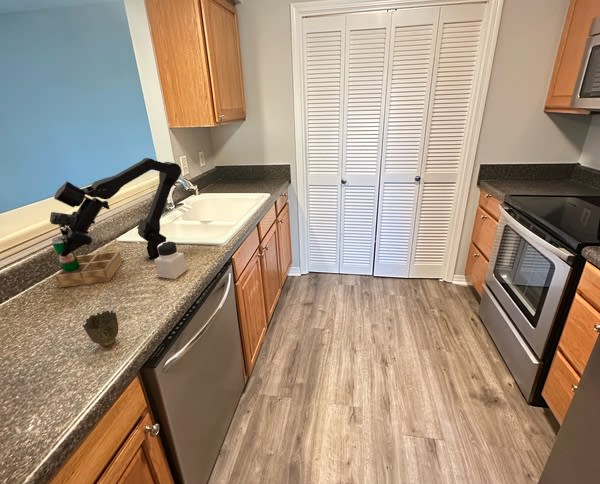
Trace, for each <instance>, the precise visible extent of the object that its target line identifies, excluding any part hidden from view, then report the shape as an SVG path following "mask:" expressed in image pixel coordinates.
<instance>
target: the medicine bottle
mask: <svg viewBox="0 0 600 484" xmlns="http://www.w3.org/2000/svg"><path fill="white" fill-rule="evenodd" d="M176 244H177V243H176V242H175V241H166V242H163V243H161V244H159V245H158V247H157V248H158V252H159V257H158V258H156V259H154V264H155V267H156V272H157V275H158V278H164V279H169V280H176V279H177V278H178V277H179V276H181V275H182V274H184V273H185V272H186V271H188V270H187V269H188V268H187V264H186V260H185V259H186V258H185V255H184V253H183V252H178V249H177V245H176Z"/></svg>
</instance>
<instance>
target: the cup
mask: <svg viewBox="0 0 600 484" xmlns="http://www.w3.org/2000/svg"><path fill="white" fill-rule="evenodd" d="M82 328H83V329H84V331H85V332H86V333H85V334H87V337H89V339H90V341H92V342H93V343H94V344H97V345H99V346H100V347H101V348H109V347H111V346H113V345H114V344H115V343H116V341H117V339H116V338H117V336H118V334H119V321H118V316H117V312H116V311H113V310H111V311H110V310H107V309H106V311H105V310H102V312H101V313H100V312H97V313H96V314H90V315H89V316H88V318H85V323H82Z"/></svg>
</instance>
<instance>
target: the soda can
mask: <svg viewBox="0 0 600 484" xmlns="http://www.w3.org/2000/svg"><path fill="white" fill-rule="evenodd" d="M66 242H67V239H66V237H65V235H64V236H62V235H58V236H55V237H53V238H52V239H51V245H52V248H53V250H54V252H55V255H56V257H57V260H58V262H59V265H60V267H61V270H62V269H63V271H64V272H73V271H76V270H78V269H79V267H80V264H79V261H78V259H77V256H78V255H77V254H76V250H74V251H73V252H71V253H70V254H68V255H66V256H65V257H63V256H61V253H62V251H63V248H64V246H65V244H66Z"/></svg>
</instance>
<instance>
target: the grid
mask: <svg viewBox="0 0 600 484" xmlns="http://www.w3.org/2000/svg"><path fill="white" fill-rule="evenodd" d="M76 256H77V259H78V261H79V264H80V267H79V269H78V270H76V271H73V272H64V271H63V269H62V268H61V270H60V271H59V272H58V273H57V274H56V275H55V276H54V277H55V279H56V282H57V285H58V287H59V288H67V287H73V286H81V285H82V286H83V285H90V284H96V283H103V282H109V281H111V279H112V277H113V275H114V274H115V273H116V271H117V270H118V268H119V267H120V265H121V264H122V262H123V259H122V256H121V252H120V251H119V250H115V251H107V252H99V253H92V254H83V255H76Z"/></svg>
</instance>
